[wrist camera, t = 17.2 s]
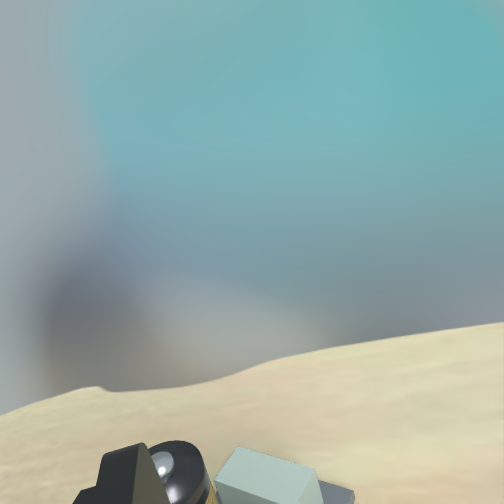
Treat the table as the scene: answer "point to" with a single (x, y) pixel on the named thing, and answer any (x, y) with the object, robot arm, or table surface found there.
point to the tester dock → (273, 482)
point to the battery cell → (183, 473)
